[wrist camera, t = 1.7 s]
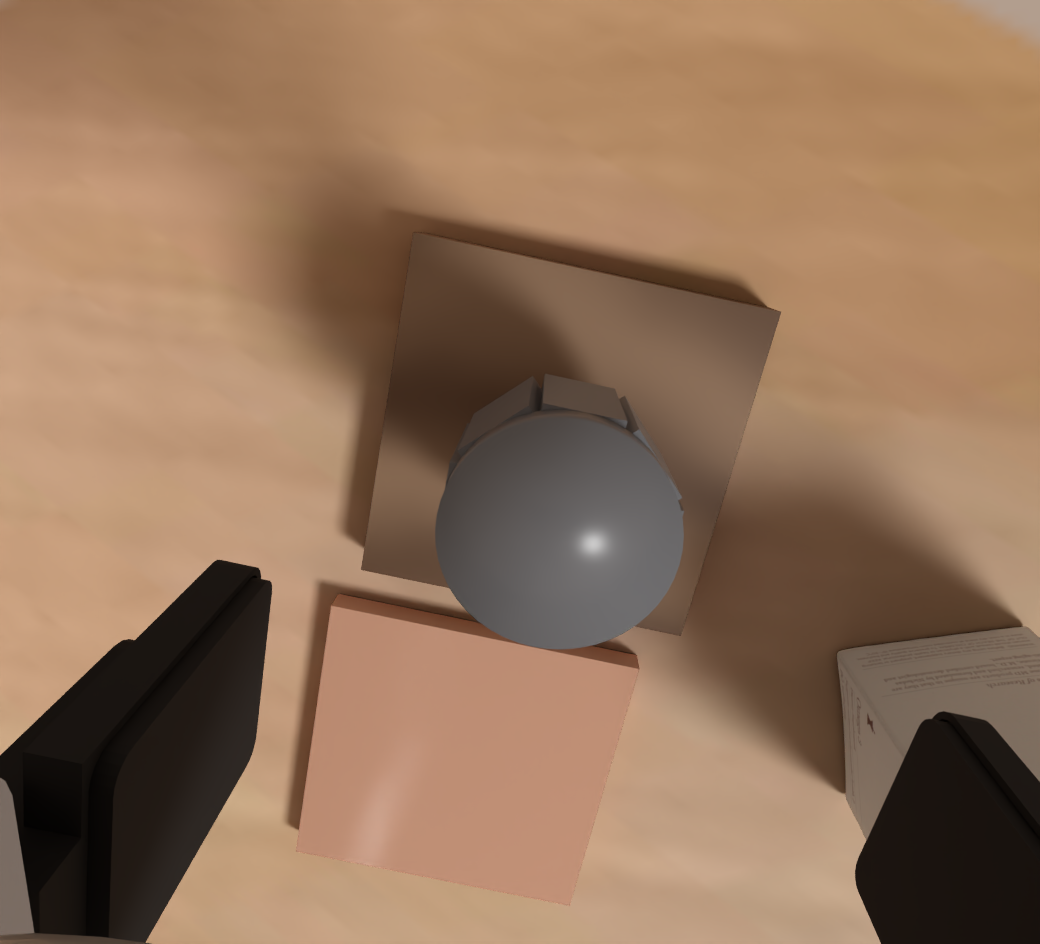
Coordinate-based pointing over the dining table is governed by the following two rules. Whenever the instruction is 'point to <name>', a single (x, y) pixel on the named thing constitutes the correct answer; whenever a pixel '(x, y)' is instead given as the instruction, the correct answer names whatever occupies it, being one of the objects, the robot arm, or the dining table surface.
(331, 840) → the tile
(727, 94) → the dining table surface
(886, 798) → the robot arm
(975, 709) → the supplement box
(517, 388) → the cap
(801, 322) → the dining table surface
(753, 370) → the post base
